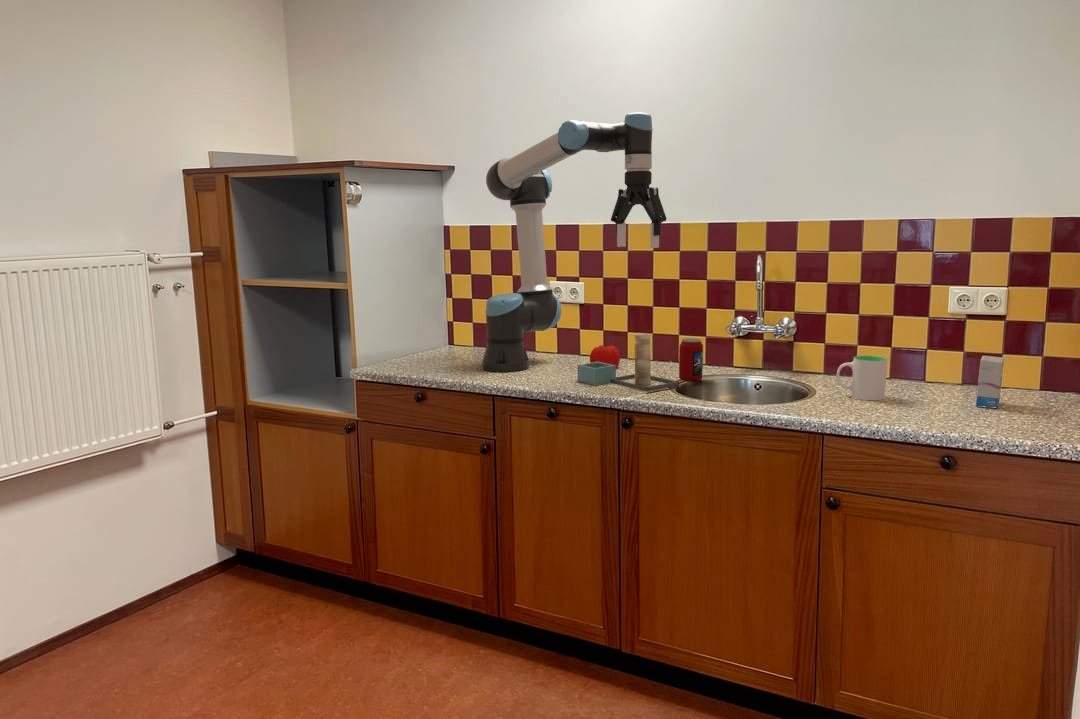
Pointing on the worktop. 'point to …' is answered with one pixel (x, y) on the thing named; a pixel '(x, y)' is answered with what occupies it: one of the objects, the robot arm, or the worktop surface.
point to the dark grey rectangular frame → (668, 384)
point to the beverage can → (691, 360)
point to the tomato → (605, 355)
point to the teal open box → (596, 373)
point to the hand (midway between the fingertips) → (637, 247)
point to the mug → (867, 377)
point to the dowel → (642, 359)
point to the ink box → (989, 381)
